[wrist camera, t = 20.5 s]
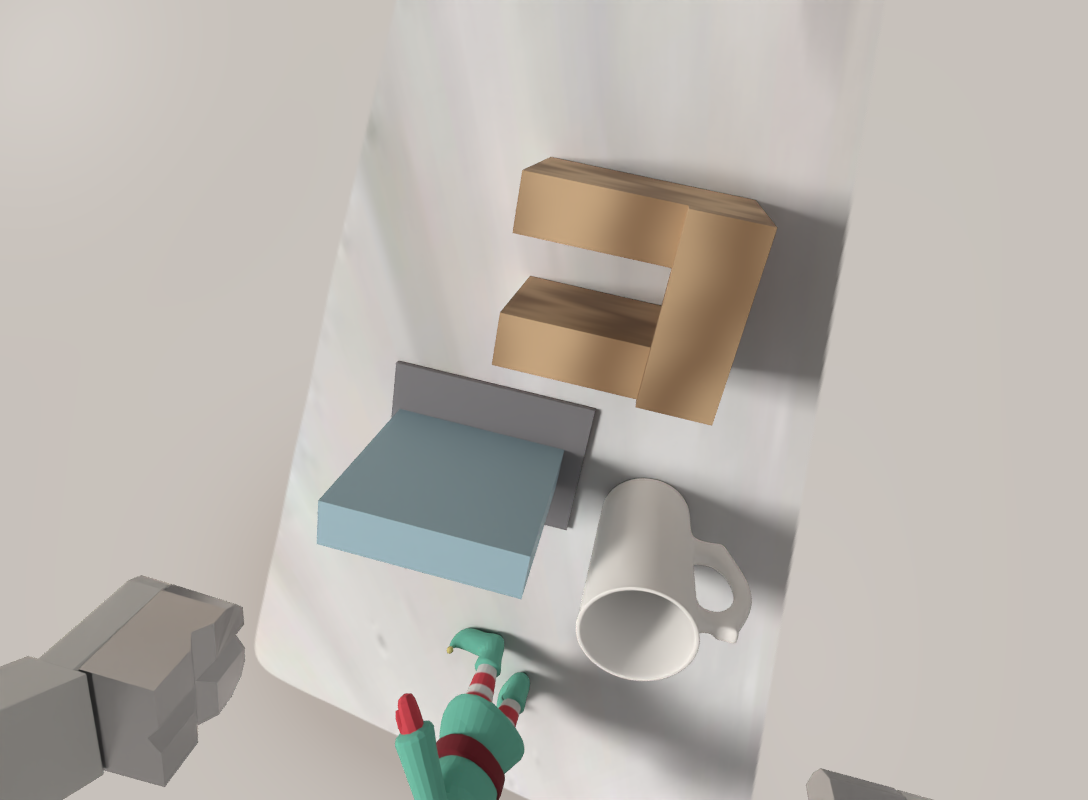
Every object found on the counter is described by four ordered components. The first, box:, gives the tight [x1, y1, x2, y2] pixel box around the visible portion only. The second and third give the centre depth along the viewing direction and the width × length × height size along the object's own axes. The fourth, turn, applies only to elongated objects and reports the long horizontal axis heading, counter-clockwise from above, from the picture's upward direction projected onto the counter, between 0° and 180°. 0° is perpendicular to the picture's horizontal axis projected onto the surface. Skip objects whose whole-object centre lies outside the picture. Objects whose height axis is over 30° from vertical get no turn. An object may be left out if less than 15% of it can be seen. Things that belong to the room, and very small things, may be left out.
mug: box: [576, 478, 752, 681], centre depth 42 cm, size 10×7×12 cm, turn 86°
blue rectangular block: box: [317, 409, 564, 599], centre depth 42 cm, size 12×3×12 cm, turn 80°
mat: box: [392, 361, 596, 530], centre depth 47 cm, size 14×10×1 cm
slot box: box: [492, 157, 777, 425], centre depth 36 cm, size 12×10×9 cm
